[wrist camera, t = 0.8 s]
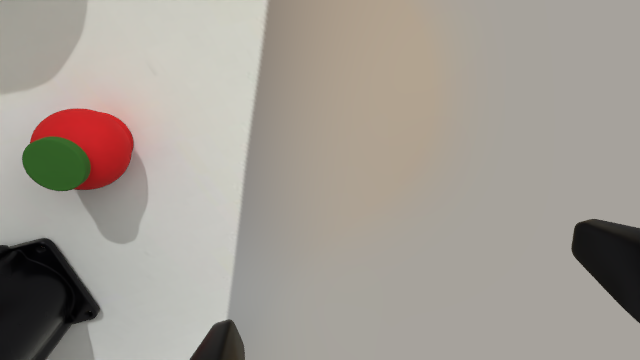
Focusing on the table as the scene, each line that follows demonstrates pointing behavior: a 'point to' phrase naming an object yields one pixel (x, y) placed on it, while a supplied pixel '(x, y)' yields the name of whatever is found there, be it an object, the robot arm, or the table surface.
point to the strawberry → (78, 150)
